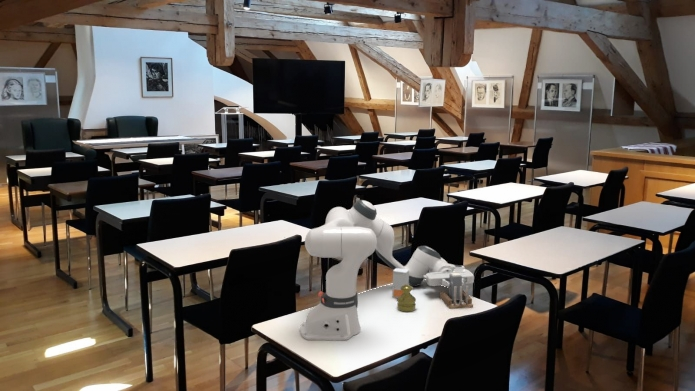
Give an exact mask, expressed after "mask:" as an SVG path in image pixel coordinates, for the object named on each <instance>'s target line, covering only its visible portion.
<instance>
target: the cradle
mask: <svg viewBox="0 0 695 391" xmlns="http://www.w3.org/2000/svg"><path fill="white" fill-rule="evenodd" d="M463 288H464V286H460V300H459V302H458V303H459V304H457V300H456V292H457V286H454V300H451V299H450V298H449V294H447V293H446V292H445V291H440V294H439V296H440V298H439V299H440V300H441V301H442V302H443V303H444V304H445V305H446V307H447V308H448V309H449V310H453V309H466V308H467V309H468V308H471V309H472V308H474V304H473V303H472V302H473V299H472V297H470V295H469V285H468V284H465V290H463Z"/></svg>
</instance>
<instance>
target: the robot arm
mask: <svg viewBox="0 0 695 391" xmlns="http://www.w3.org/2000/svg"><path fill="white" fill-rule="evenodd" d="M394 230H395V229H393V227H392V226H391V225H390V224H389V223H387V222H386V221H385V220H383V219H381V218H379V217H377V209H376V208H375V206H374V205H373V204H372V203H371V202H369V201H367V200H364V199H358V200H357V201H356V202H354V204H352V207H351V208H350V209H349V210H348V209H346V208H345V207H342V206H336V207H333V208H331V209H330V210H329V211H328V213H327V215H326V218H325V223H324V224H323V225H321V226H319V227H314V228H311V229H310V230H309V231H308V232H307V234H306V235H305V238H304V247H305V249H306V252H307V253H308V254H309V255H310V256H312V257H317V258H324V259H325V258H329V259H330V258H331V259H332V258H341V259H342V260H341V261H340V262H339V263H338V264H335V265H333V266H331V267H329V269H328V270H327V272H326V275H325V280H326V281H325V292H323V291H322V290H321V291H319V292H318V294H317V295H318V297H319V298H320V303H318V304H316V306H314V307H313V308H311V309H310V310H309V311H308V312H307V315H306V318H305V321H303V322H302V323H301V324H300V326H299V334H300V335H301V337H302V338H304V339H305V340H308V341H310V340H311V341H312V340H313V341H315V340H317V341H347V340H349V339H351V337H353V336H355V335H357V334H359V333H360V332H361V330H362V328H361V324H360V321H359V315H358V306H359V305H358V304H359V295H358V293H357V292H358V291H357V282H358V281H357V280H358V273H359V269H360V268H361V266H362V264H363V263H364V261H366V259H368V257H370V256H371V255H372V254H373V253H374V252H375V253H376V255H377V256H378V258H379V259H381V260H382V262H384V263H385V264H386V265H387V266H389V268H391V269H392V271H393V270H394V269H395V268H399V269H407V270H409V285H410V286H412V287H415V286H419V285H422V284H423V282H424V280H425V281H426V283H427V285H428V286H430V287H436V286H438V287H439V286H446V288H449V287H451V282H449V274H451V273H459V274H460V275H461V276H462V286H463V287H464V286H465V285H468V284H474V280H475V276H474V274H473V273H472V272H471V271H470V270H469V269H468V268H467V269H466V268H465V266H464V265H458V264H452V263H448V261H446V260H445V259H444V258H443V257H441V255H440V253H439V252H437V251H436V250H435V249H433V248H431V247H429V246H428V245H420V246H417V248H416V250H414V252H413V254H412V256H411V258H410V259H409V261H408V262H407V263H406V264H405V265H403V264H401V262H399V261H398V260H396V259H395V258H394V256H393V250H394V249H393V248H394V244H395V237H396V236H395V231H394Z"/></svg>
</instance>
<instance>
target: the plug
mask: <svg viewBox="0 0 695 391" xmlns="http://www.w3.org/2000/svg"><path fill="white" fill-rule="evenodd" d="M449 282H451V287H448V297H449V298H450V299H451V300H452V301H454V286H457V292H456V301H460V286H462V276H461V275H460V274H459V273H451V274H449Z"/></svg>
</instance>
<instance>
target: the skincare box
mask: <svg viewBox="0 0 695 391" xmlns="http://www.w3.org/2000/svg"><path fill="white" fill-rule="evenodd" d="M403 285H410V284H409V270H407V269H399V268H395V269H394V270H393V269H392V295H391V296H392V298H398V297H399V296H400V295H401V294H403V291H402V290H401V286H403Z"/></svg>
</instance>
